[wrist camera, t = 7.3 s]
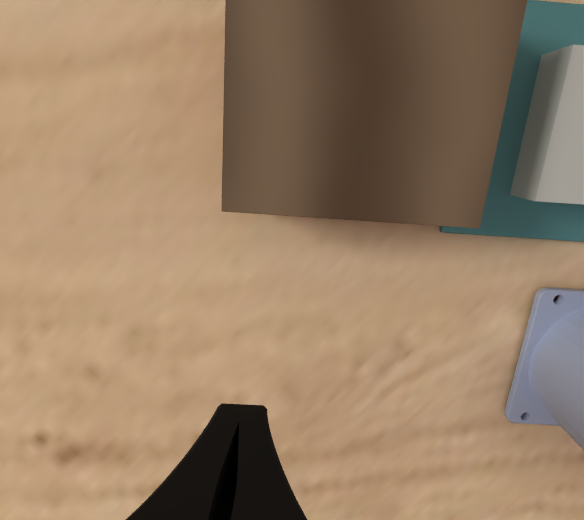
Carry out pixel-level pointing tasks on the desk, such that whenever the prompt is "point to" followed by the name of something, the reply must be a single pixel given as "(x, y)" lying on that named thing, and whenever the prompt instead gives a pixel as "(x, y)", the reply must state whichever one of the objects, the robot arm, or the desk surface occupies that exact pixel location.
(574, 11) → the mat
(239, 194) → the block
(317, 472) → the desk surface
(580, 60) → the tile
